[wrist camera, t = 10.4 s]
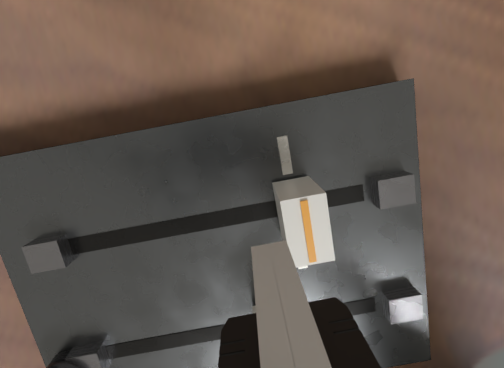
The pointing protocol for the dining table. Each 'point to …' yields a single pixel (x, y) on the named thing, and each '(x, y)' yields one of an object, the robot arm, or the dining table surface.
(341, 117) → the console board
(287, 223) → the block
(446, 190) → the dining table surface
